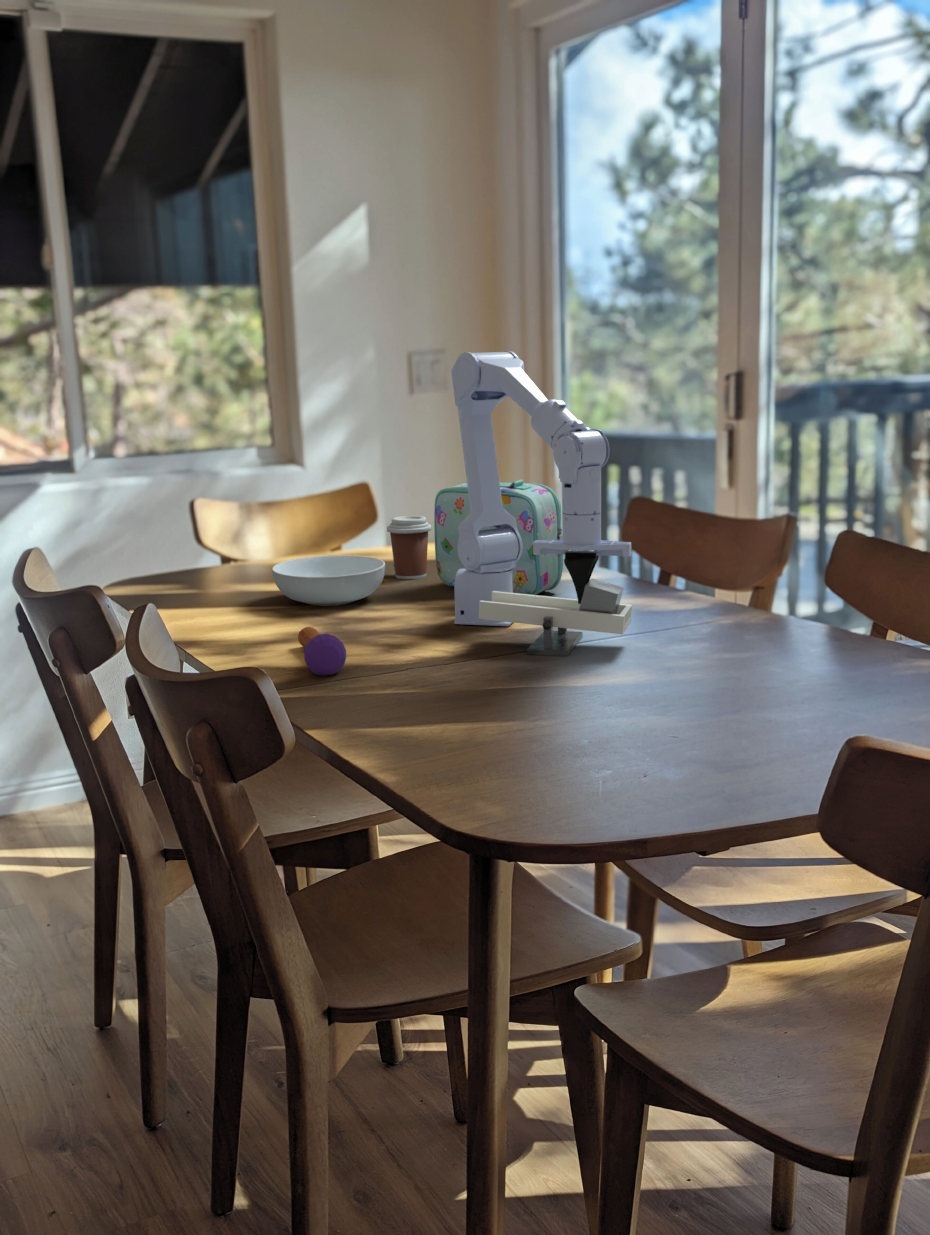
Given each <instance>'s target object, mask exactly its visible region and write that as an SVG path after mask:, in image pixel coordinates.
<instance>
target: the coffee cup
mask: <svg viewBox="0 0 930 1235" xmlns="http://www.w3.org/2000/svg"><path fill="white" fill-rule="evenodd" d="M429 531H432V525H431V524H429V522H428V521H427V518H426V516H423V515H403V516H402V515H401V516H400V515H399V516H395V517H392V518H391V523H390V524H389V525H388V526H386V532H388V533H390V541H391V543H390V544H391V550H392V560H393V567H394V575H395V577H396V578H395V579H399V580H419V579H420V580H421V579H424V578H426V577H427V570H428V569H427V564H428V546H429V545H428V543H429Z"/></svg>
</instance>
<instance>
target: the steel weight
mask: <svg viewBox="0 0 930 1235" xmlns="http://www.w3.org/2000/svg"><path fill="white" fill-rule="evenodd" d="M624 590H625V587H623V586H620V585H617V584H612V583H609V582H605V581H602V580H598V579H595V578H590V580H589V582H588V583H587V584H586V585H585V589H584V593H583V597H582V601H581V605H580V609H579V611H588V612H597V613H607V614H617V612H618V608H619V604H621V599H622V597H623V593H624Z"/></svg>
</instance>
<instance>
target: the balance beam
mask: <svg viewBox="0 0 930 1235" xmlns="http://www.w3.org/2000/svg"><path fill="white" fill-rule="evenodd" d="M580 605H581V604H578V598H577V599H575V598H567V597H557V596H556V597H555V596H549V595H538V594H536V595H529V594H519V593H510V592H500V591H492V601H482V600H481V601H479V619H486V620H495V621H504V622H513V623H515V624H522V625H534V626H540V627H541V626H542V627H543V618H544V617H553V628H558V627H559V628H567V629H571V630H580V631H588V632H589V631H590V632H598V633H608V634H615V635H624V633H625V632H626V631H627V629H628V628H629V626H630V624H631V623H632V614H633V612H632V611H633V604H626V603H620V604H619V608H618V612H617V614H607V613H597V612H588V611H579V609H580ZM513 623H512V624H513Z"/></svg>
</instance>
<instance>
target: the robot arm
mask: <svg viewBox="0 0 930 1235" xmlns="http://www.w3.org/2000/svg"><path fill="white" fill-rule="evenodd" d="M451 380H452V387H453V388H452V389H453V395H454V396H453V397H454V401H455V402H454V403H455V406H456V407H457V413H458V421H459V422H458V423H459V429H460V437H461V438H460V439H461V445H462V454H463V461H464V469H465V476H466V482H467V486H468V494H469V502H470V510H471V513H470V514H469V515H468V516H467V517H466V518H465V519H464V520H463V521H462V522H461V523H460V525H459V526H458V530H459V541H458V546H457V551H458V556H459V559H460V561H461V563H462V564H463V565H464V567H465V569H459V570H458V571H457V573H456V577H455V585H454V586H453V588H454V589H453V590H454V617H455V618H454V622H453V624H455V625H467V626H468V625H469V626H470V625H471V626H495V627H509V626H511V625H512V624H513V622H504V621H495V620H486V619H479V601H481V600H482V601H492V591H500V592H510V593H513V587H512V568H515V567H516V562H517V561H518V560H519V559H520V557H521V554H522V549H523V544H522V539H521V536H520V534H519V532H518V530H517V525H516V519H515V518H514V517H513V516H512V515H510V514H509V513H508V512H506V511H505V510H504V509H503V507H502V499H501V491H500V482H501V481H500V478H499V477H500V476H499V468H498V459H497V458H498V457H497V451H496V450H497V449H496V442H495V436H494V428H493V418H492V413H493V411H494V410H495V409H496V407H497V406H498V405H499V404H501V403H503V401H504V400H505V399H507V397H509V398H510V399H511V400H512V401H513V402H514V403H516V404H517V405H518V406H519V407H520V408H521V409H522V410H524V411H525V412H526V413H527V414H528V415H530V417H531V418H530V425H531V428H532V429H533V431H534V432H535V433H536V434H537V435H538V436H539V437H540V438H541V439H542V441H544V442H545V443H546V444H547V445H548V446H549V447H550V448H551V449H552V450H553V451H552V455H553V456H552V457H553V461H554V463H555V465H556V467H557V469H558V479H559V482H560V483H561V485H562V486H561V487H562V488H561V489H562V490H561V491H562V494H561V497H562V498H561V500H562V501H561V503H562V506H561V521H562V534H563V540H536V541H534V542H533V555H540V554H561V555H563V556H564V558H563V564H564V566H565V568H566V570H567V571H568V573H569V575H570V577H571V581H572V582H573V585H574V590H575V592H576V598H577V599H578V604H581V601H582V597H583V593H584V589H585V585H586V584H587V583H588V582H589V581H590V580H591V578H592V574H593V572H594V569H595V567H596V565H597V563H598V561H599V558H600V556H602V557H603V556H605V557H606V556H609V557H612V556H613V557H622V558H631V555H632V541H615V540H603V539H602V468H604V466H605V465H606V464H607V463H608V461H609V457H610V450H611V447H610V443H609V439H608V438H607V436H606V435H605V434H604V432H603V430H601V429H599V428H590V427H588V426H585V424H584V422H583V421H582V420H581V419H578V418H577V417H576V416H575V415H574V414H573V413H572V412H571V411H570V410H569V409H568V408H567V404H566V402H564V400H562V399H561V400H559V399H555V398H553V399H552V398H551V399H548V398H547V397H546V396H545V395H544V393H543V392H542V391H541V390H540V389H539V387H538V386H537V385H536V383H534V381H533V380H532V379H531V377H530V376H529V375H528V374H527V373H526V372H525V364H524V360H522V359H521V358H519V356H518V355H517V354H516V353H515V352H514V351H512V350H506V351H496V352H491V351H489V352H488V351H487V352H470V351H464V352H462V353H460V354H459V355H458V357H457V358H456V360H455V362H454V365H453V366H452V368H451ZM488 526H494V527H495V528H496V529H489V530H481V531H479V530H480V529H481V528H483V527H488Z"/></svg>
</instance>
